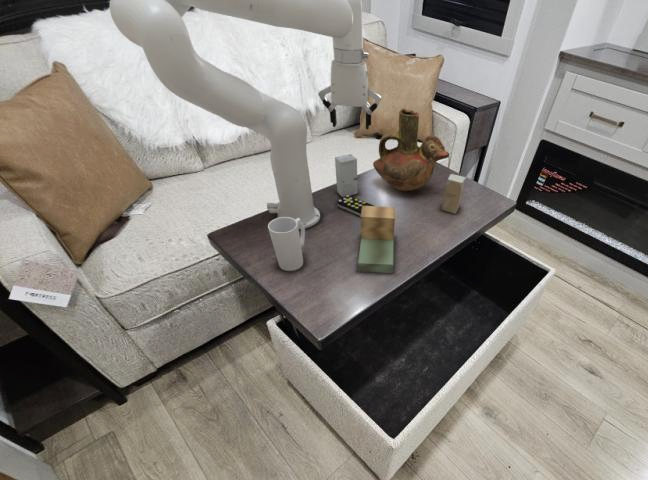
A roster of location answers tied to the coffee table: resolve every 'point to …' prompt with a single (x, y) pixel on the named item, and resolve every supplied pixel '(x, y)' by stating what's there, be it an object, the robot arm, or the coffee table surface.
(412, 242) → the coffee table surface
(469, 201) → the coffee table surface
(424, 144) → the ceramic vessel
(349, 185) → the white medicine box
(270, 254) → the coffee table surface
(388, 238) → the wood and green block
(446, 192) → the box
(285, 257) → the mug
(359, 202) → the remote control
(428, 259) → the coffee table surface
